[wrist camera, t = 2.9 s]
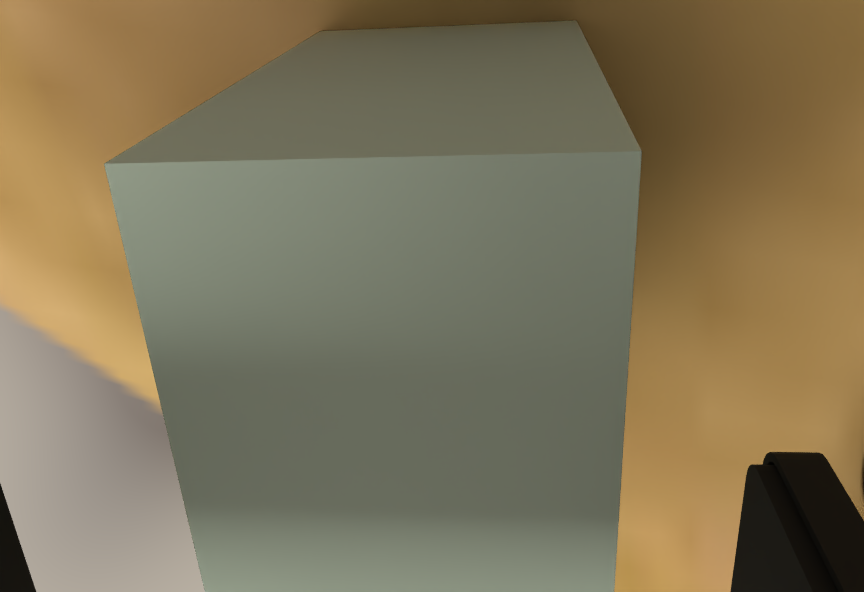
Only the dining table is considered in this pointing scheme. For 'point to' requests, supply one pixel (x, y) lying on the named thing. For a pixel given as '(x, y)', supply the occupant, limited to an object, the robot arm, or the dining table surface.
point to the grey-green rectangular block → (394, 311)
